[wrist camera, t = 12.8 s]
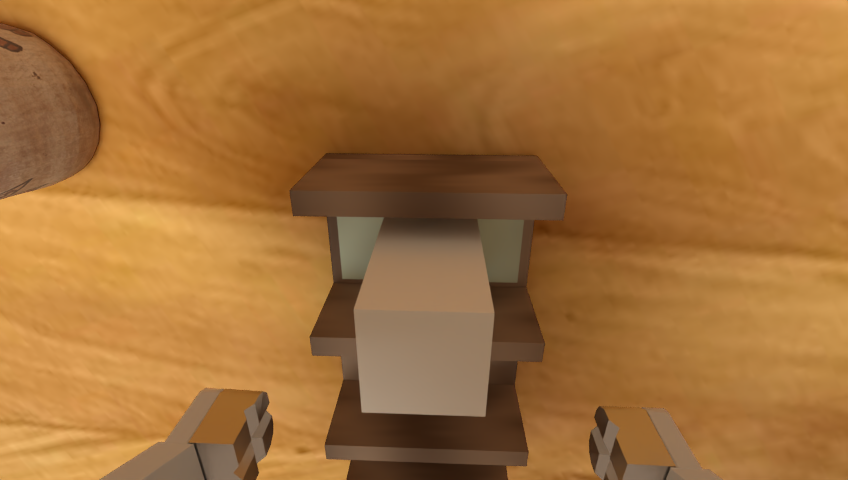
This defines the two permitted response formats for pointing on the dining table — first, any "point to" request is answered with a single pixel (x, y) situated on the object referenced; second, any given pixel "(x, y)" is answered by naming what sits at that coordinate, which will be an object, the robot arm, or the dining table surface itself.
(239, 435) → the robot arm
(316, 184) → the slot rack
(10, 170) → the figurine
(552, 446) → the dining table surface
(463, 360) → the peg
